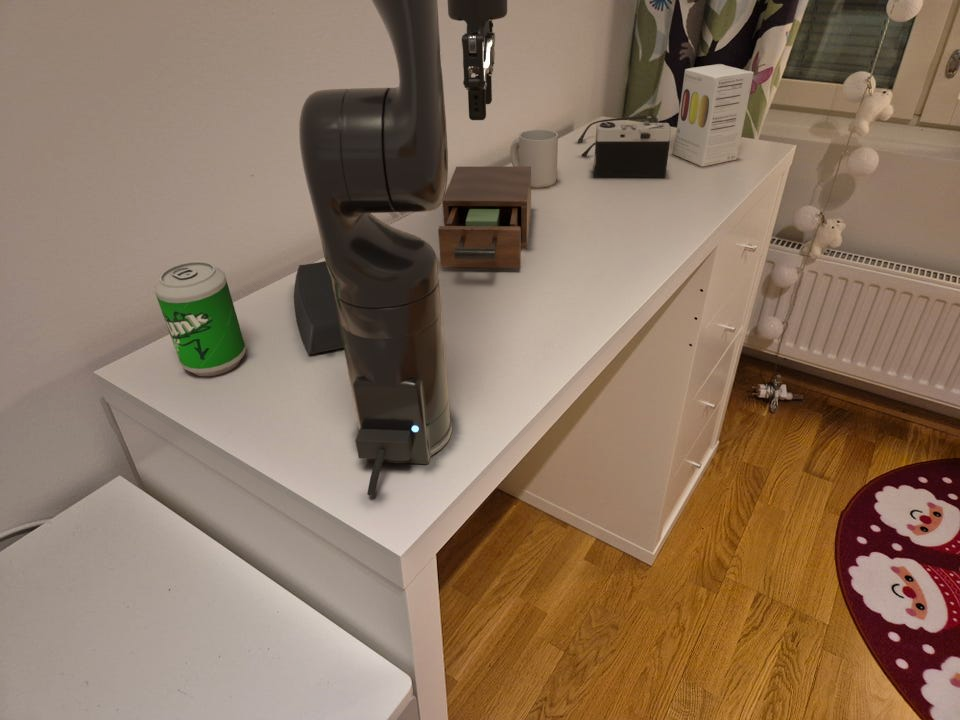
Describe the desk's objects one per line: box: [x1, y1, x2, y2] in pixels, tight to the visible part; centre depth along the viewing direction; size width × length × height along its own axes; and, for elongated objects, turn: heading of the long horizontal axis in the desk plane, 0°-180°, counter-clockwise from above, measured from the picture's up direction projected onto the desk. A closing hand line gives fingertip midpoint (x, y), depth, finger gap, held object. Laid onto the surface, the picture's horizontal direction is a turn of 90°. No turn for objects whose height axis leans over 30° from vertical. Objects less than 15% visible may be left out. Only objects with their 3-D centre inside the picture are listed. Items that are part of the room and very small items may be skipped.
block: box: [466, 209, 500, 226], centre depth 98 cm, size 5×5×5 cm
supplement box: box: [672, 63, 755, 167], centre depth 130 cm, size 10×9×17 cm
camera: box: [593, 120, 672, 179], centre depth 127 cm, size 14×9×10 cm, turn 76°
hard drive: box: [293, 260, 344, 355], centre depth 87 cm, size 13×19×4 cm
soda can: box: [153, 260, 247, 377], centre depth 76 cm, size 8×8×12 cm
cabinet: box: [441, 166, 532, 250], centre depth 107 cm, size 16×13×8 cm
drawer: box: [437, 206, 522, 269], centre depth 97 cm, size 20×12×6 cm, turn 174°
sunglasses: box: [577, 114, 659, 157], centre depth 140 cm, size 16×17×5 cm
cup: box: [509, 129, 559, 189], centre depth 125 cm, size 7×10×9 cm
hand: (481, 111), depth 90 cm, fingers open, 8 cm apart
